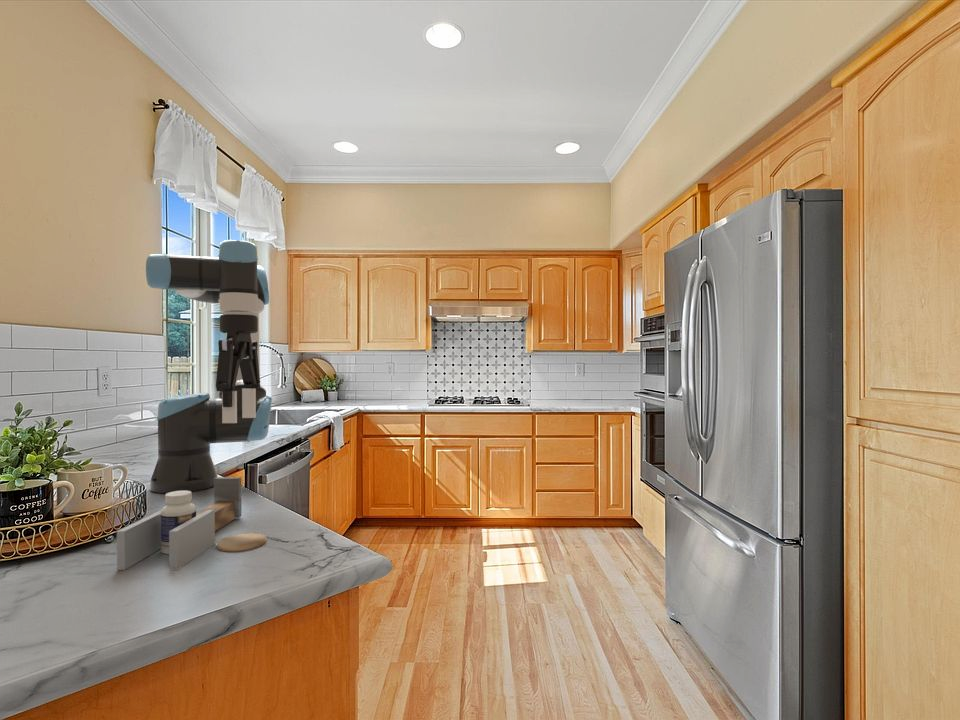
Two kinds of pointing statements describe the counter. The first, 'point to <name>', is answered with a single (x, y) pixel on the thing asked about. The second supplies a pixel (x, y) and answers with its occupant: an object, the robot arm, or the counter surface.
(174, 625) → the counter surface
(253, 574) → the counter surface
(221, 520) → the sliding block
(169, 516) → the pill bottle
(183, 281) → the robot arm
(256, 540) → the coaster
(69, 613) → the counter surface
